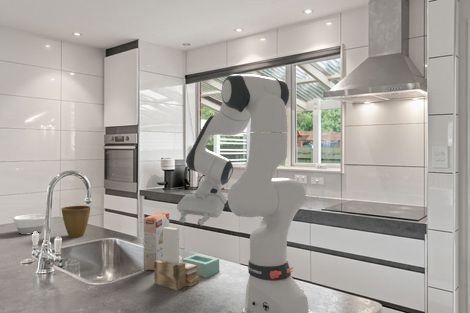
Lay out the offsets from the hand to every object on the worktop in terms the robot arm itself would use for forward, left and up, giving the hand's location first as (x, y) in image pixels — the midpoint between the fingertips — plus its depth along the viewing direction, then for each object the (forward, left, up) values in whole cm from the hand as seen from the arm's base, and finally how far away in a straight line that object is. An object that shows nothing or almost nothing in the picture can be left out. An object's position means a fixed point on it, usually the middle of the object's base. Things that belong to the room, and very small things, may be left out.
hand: (190, 223), depth 139 cm
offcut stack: (-2, +5, -20) cm, 21 cm away
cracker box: (+20, +6, -20) cm, 29 cm away
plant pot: (+95, +23, -20) cm, 99 cm away
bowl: (+121, +43, -20) cm, 129 cm away
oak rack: (-3, +10, -20) cm, 23 cm away
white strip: (-3, +10, -20) cm, 23 cm away
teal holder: (+2, -5, -20) cm, 21 cm away
